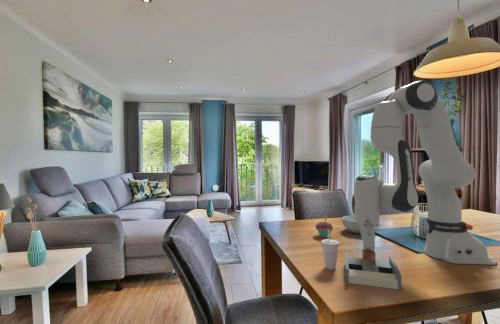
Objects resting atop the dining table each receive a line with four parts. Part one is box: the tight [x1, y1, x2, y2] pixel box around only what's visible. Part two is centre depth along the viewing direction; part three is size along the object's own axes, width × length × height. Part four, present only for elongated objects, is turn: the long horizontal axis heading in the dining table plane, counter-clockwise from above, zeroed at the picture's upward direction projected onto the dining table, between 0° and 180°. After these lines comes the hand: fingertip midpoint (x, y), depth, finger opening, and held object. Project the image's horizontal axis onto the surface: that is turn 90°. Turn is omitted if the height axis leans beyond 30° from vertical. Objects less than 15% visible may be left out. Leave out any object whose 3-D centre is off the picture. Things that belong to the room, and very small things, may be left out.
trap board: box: [344, 251, 402, 291], centre depth 91 cm, size 16×16×4 cm
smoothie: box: [320, 230, 340, 271], centre depth 98 cm, size 6×6×14 cm
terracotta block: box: [361, 248, 377, 265], centre depth 95 cm, size 4×4×4 cm
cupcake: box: [315, 214, 334, 238], centre depth 135 cm, size 9×8×12 cm
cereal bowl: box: [341, 215, 361, 234], centre depth 142 cm, size 17×17×7 cm
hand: (367, 253), depth 101 cm, fingers closed
